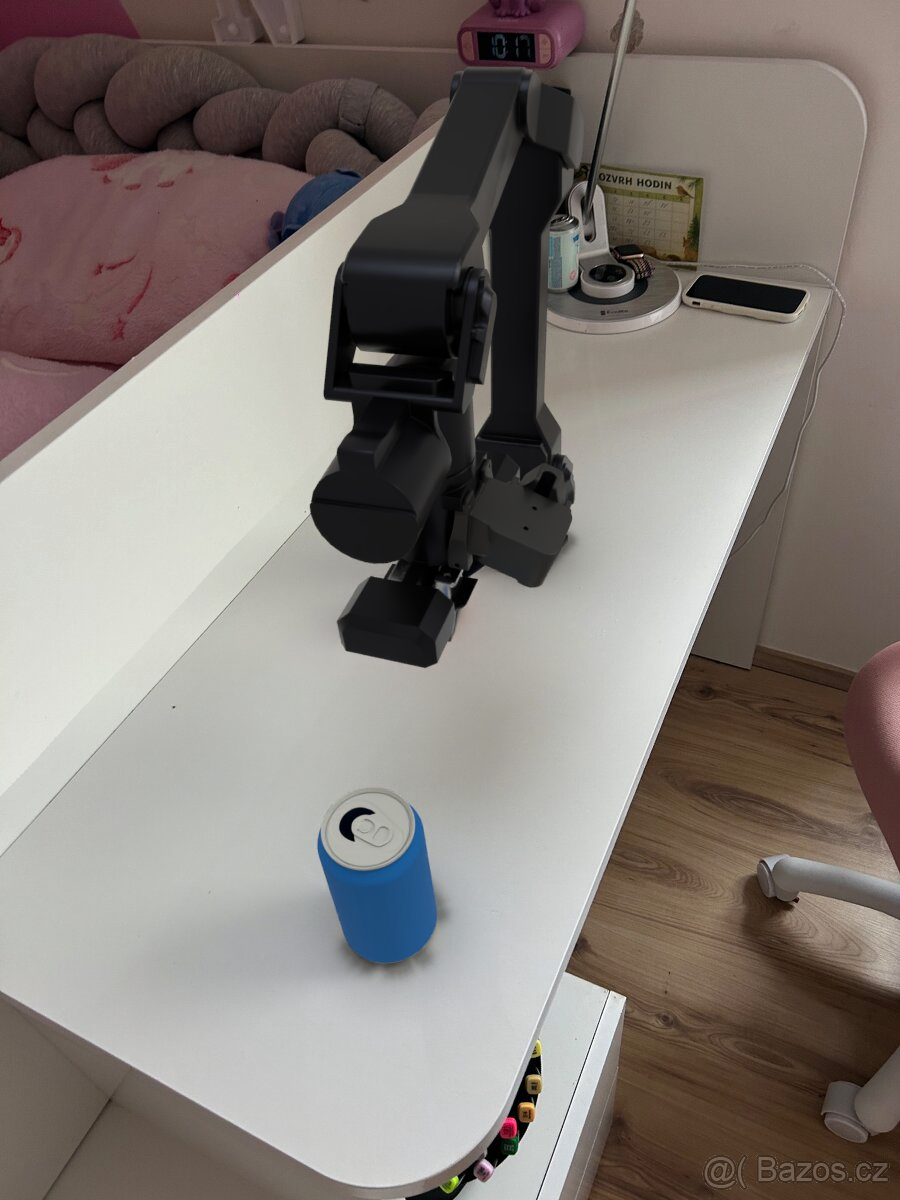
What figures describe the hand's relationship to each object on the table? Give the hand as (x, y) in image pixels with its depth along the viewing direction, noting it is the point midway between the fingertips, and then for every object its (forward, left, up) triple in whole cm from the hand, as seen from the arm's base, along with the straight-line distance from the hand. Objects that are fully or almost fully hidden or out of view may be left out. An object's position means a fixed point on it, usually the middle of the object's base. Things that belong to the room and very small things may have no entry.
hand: (445, 637), depth 66 cm
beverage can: (+15, +6, -12) cm, 20 cm away
